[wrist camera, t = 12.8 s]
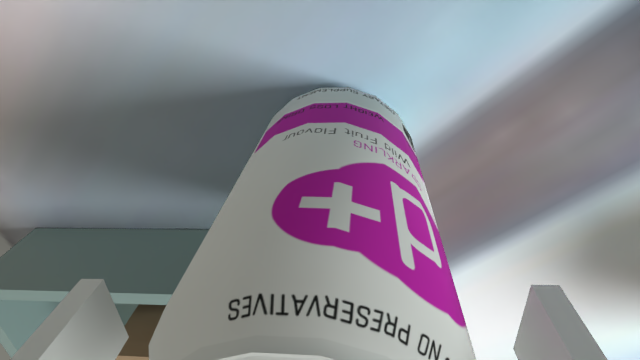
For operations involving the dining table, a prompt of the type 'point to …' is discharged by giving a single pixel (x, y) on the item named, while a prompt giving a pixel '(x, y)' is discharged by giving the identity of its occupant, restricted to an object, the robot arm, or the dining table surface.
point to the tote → (89, 272)
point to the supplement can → (321, 249)
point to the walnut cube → (140, 332)
